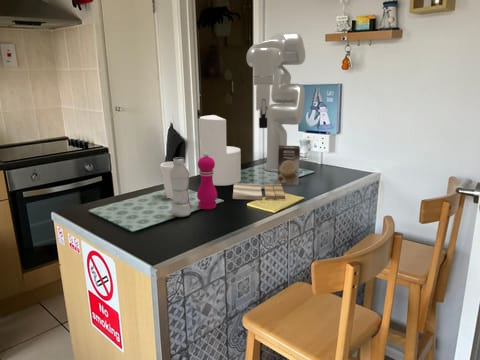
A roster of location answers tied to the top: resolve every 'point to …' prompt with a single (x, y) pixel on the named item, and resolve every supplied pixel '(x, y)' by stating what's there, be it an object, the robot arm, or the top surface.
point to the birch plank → (247, 191)
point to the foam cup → (167, 178)
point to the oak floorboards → (274, 191)
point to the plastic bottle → (180, 188)
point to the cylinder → (220, 150)
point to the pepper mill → (206, 183)
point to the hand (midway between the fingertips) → (263, 127)
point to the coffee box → (288, 165)
